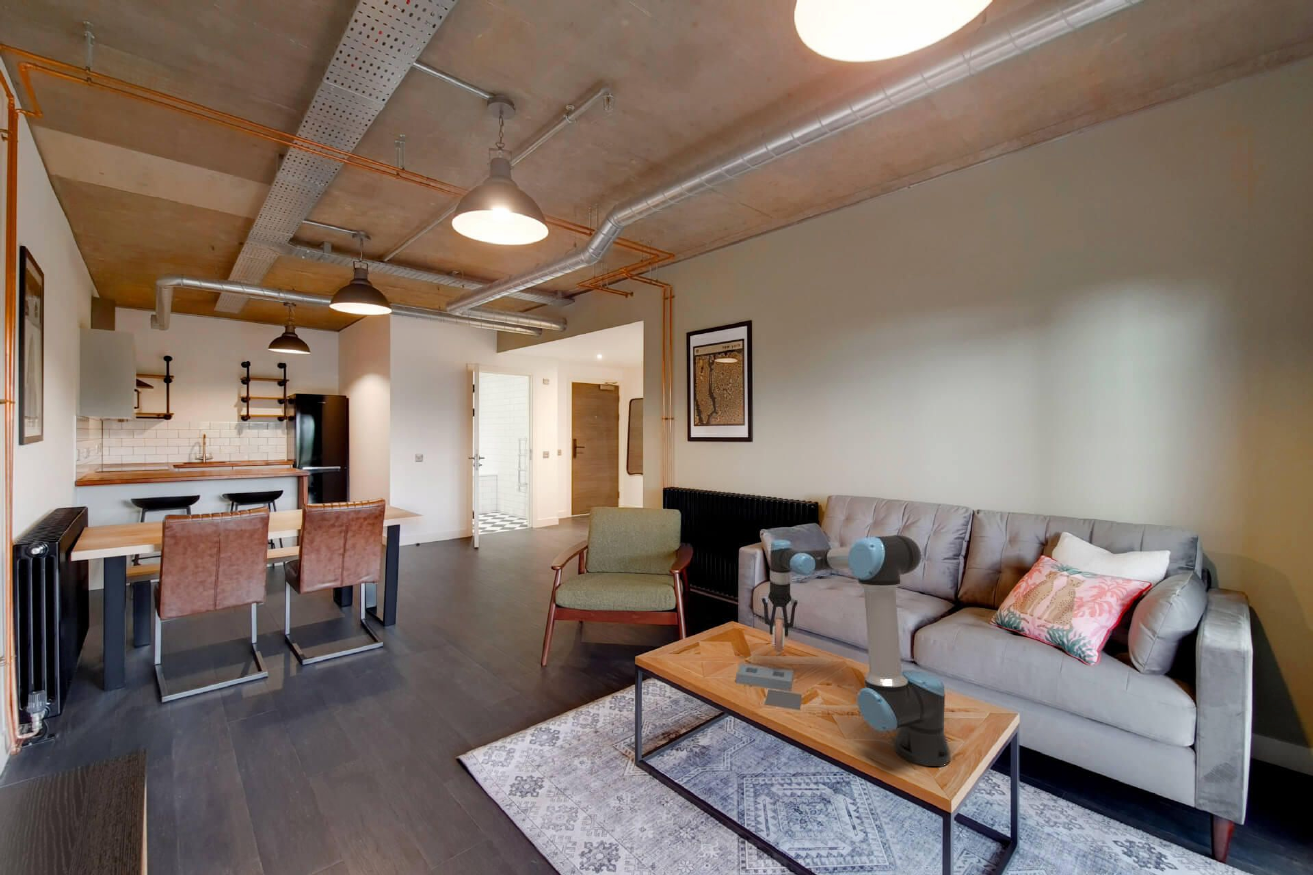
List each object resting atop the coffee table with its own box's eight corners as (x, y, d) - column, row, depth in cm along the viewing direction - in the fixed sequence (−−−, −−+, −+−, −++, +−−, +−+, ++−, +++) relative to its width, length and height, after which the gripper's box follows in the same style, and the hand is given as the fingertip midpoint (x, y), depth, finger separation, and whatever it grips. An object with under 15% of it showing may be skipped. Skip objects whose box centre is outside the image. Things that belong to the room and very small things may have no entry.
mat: (800, 711, 191) (800, 709, 191) (764, 705, 195) (764, 704, 195) (802, 695, 203) (802, 694, 203) (768, 690, 206) (768, 689, 206)
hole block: (791, 692, 205) (791, 681, 205) (736, 684, 211) (736, 673, 211) (793, 680, 214) (793, 670, 214) (740, 673, 220) (740, 663, 220)
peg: (782, 652, 209) (783, 620, 209) (774, 651, 210) (774, 619, 210) (782, 649, 212) (783, 618, 212) (774, 648, 213) (775, 617, 213)
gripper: (802, 581, 212) (801, 643, 212) (759, 577, 217) (758, 637, 217) (801, 586, 205) (800, 650, 205) (757, 582, 209) (755, 644, 210)
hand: (778, 643), depth 211 cm, fingers closed on peg, 3 cm apart
